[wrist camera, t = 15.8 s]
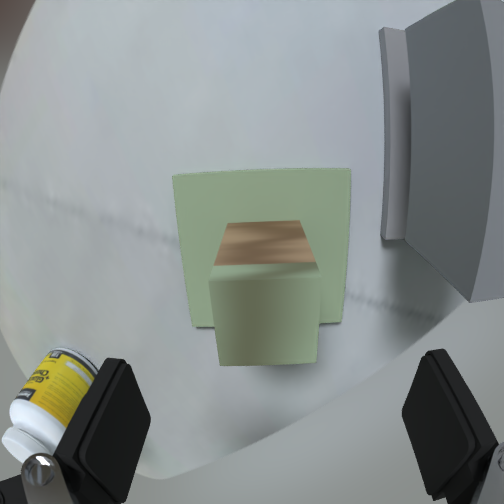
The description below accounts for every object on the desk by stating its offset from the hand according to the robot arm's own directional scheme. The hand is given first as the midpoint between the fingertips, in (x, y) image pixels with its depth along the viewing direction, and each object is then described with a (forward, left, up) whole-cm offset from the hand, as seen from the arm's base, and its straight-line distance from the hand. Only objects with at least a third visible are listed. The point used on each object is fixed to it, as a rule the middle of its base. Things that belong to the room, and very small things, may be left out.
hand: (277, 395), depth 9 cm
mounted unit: (-11, -8, -13) cm, 18 cm away
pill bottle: (+19, +12, -13) cm, 27 cm away
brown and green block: (0, 0, -12) cm, 12 cm away
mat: (0, 0, -13) cm, 13 cm away
